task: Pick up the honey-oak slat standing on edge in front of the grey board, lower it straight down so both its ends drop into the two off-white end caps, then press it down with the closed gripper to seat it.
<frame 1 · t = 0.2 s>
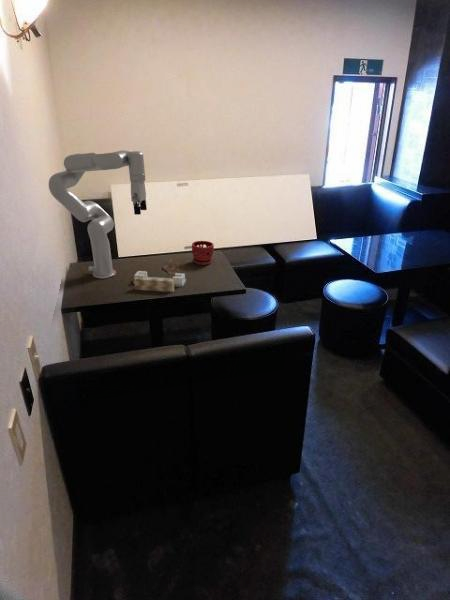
hand: (140, 212, 209), 36 cm above the table, tool pointing down, fingers open, 9 cm apart
slat: (154, 290, 210), on the table
plant pot: (203, 262, 247), on the table
endcap board: (160, 282, 219), on the table
wooden fragment: (171, 267, 240), on the table
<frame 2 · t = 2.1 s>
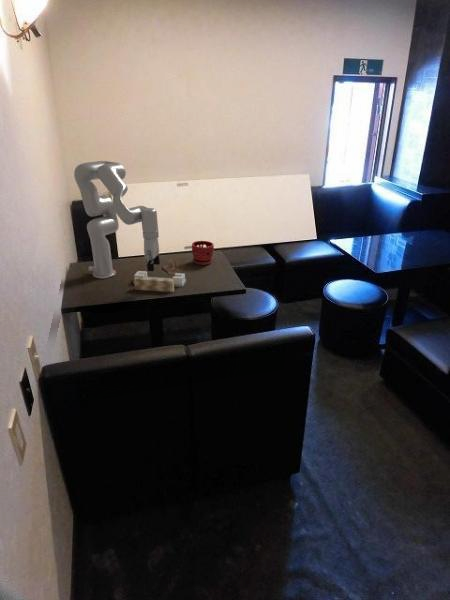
hand: (153, 267, 204), 12 cm above the table, tool pointing down, fingers open, 9 cm apart
nothing on the table moved.
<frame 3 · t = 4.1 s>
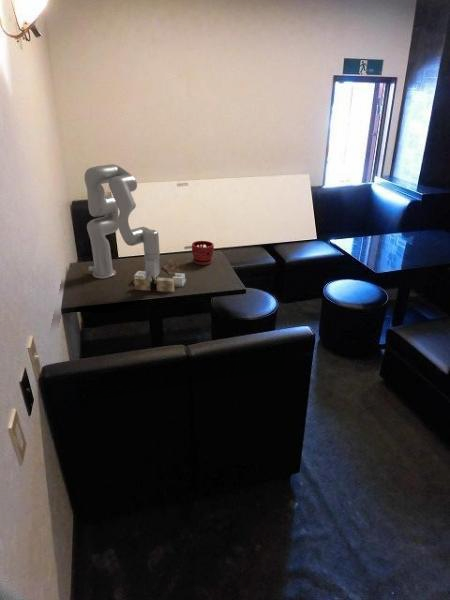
hand: (154, 288, 210), 1 cm above the table, tool pointing down, fingers closed on slat, 2 cm apart
slat: (154, 290, 210), on the table, touching gripper
everything else where it was.
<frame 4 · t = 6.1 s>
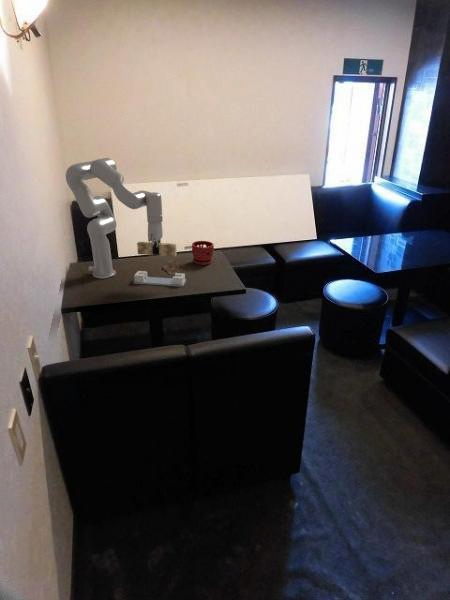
hand: (157, 253, 210), 17 cm above the table, tool pointing down, fingers closed on slat, 2 cm apart
slat: (157, 254, 211), point 16 cm above the table, touching gripper
everything else where it was.
when the fingers open (2 cm above the table, at t = 8.3 s): slat stays where it is, resting on endcap board.
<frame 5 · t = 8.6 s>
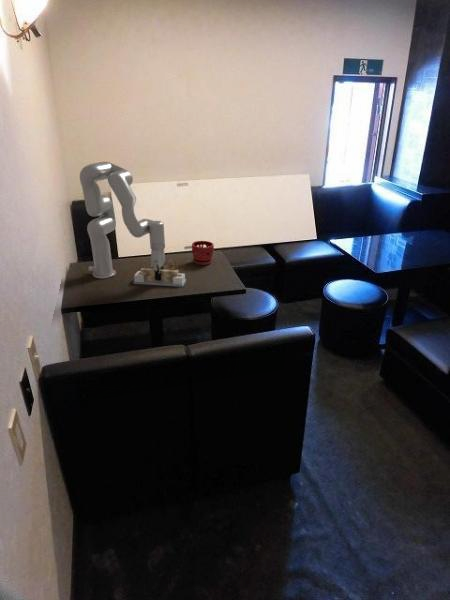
hand: (159, 277, 218), 3 cm above the table, tool pointing down, fingers open, 5 cm apart
slat: (160, 280, 218), point 1 cm above the table, touching endcap board
everything else where it was.
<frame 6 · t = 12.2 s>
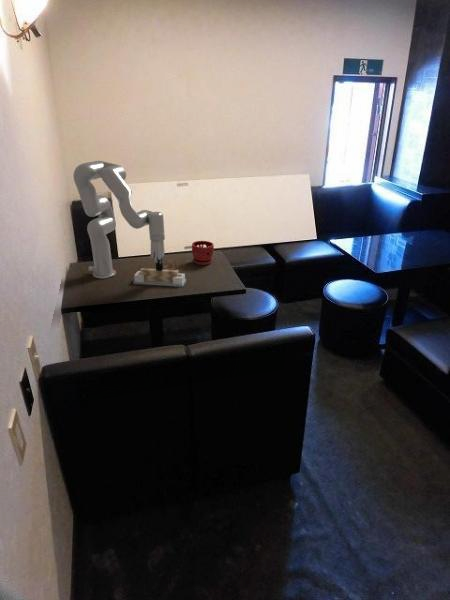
hand: (159, 270, 216), 7 cm above the table, tool pointing down, fingers closed
slat: (160, 280, 218), point 1 cm above the table, touching endcap board, gripper
everything else where it was.
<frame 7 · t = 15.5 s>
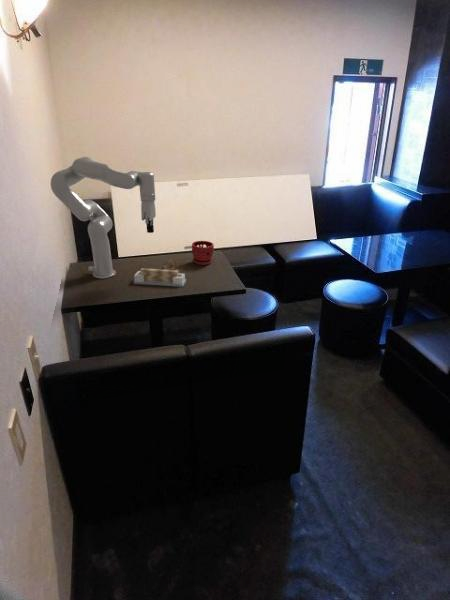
hand: (150, 232, 216), 25 cm above the table, tool pointing down, fingers closed
slat: (160, 280, 218), point 1 cm above the table, touching endcap board
everything else where it was.
at the end: slat 0.1 cm off-centre on the endcap board, point 1.0 cm above the endcap board's base; slat tilted 0°; the gripper is holding nothing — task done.
